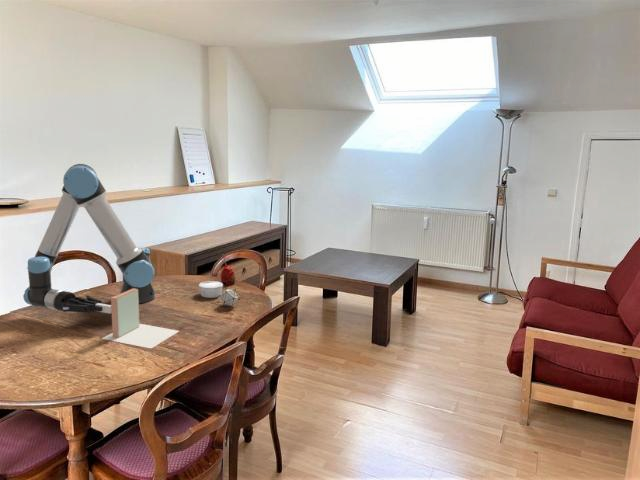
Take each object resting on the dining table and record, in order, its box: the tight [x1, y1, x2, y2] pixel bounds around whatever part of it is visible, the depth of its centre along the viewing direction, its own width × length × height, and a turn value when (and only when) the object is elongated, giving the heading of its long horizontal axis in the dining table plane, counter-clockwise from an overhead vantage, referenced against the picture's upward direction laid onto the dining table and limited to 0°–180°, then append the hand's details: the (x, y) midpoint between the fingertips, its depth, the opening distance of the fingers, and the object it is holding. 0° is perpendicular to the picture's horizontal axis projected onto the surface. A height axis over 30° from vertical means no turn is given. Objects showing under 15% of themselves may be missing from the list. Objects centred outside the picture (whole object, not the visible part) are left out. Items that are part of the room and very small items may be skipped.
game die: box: [217, 287, 241, 309], centre depth 216 cm, size 9×8×10 cm
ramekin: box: [198, 280, 224, 299], centre depth 230 cm, size 11×11×5 cm
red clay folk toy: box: [220, 254, 236, 286], centre depth 247 cm, size 8×7×15 cm
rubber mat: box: [101, 323, 180, 349], centre depth 181 cm, size 21×17×1 cm
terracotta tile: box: [110, 288, 140, 338], centre depth 182 cm, size 12×2×15 cm, turn 162°
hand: (111, 309), depth 183 cm, fingers closed
